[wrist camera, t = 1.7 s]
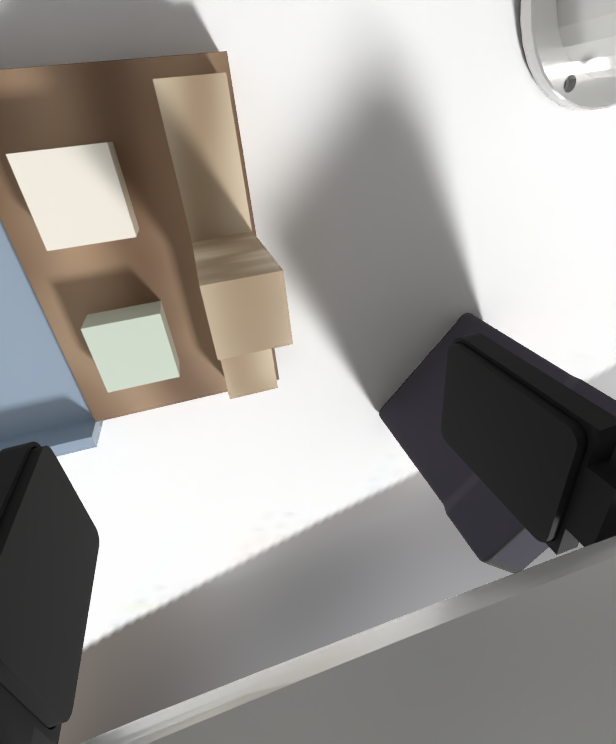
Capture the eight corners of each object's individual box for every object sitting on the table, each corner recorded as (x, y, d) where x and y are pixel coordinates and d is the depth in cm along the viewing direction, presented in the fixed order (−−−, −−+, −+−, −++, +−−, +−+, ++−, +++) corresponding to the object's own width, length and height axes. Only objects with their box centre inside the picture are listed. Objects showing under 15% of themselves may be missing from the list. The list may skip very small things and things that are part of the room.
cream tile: (112, 141, 19) (107, 142, 18) (139, 228, 21) (136, 237, 20) (20, 152, 19) (5, 154, 17) (57, 241, 21) (47, 251, 19)
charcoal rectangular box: (404, 428, 37) (521, 580, 24) (371, 410, 35) (482, 566, 22) (491, 332, 34) (673, 448, 22) (461, 306, 32) (645, 417, 20)
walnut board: (222, 57, 21) (226, 51, 19) (273, 365, 30) (279, 379, 28) (-46, 80, 18) (-68, 75, 17) (100, 404, 28) (95, 422, 26)
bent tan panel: (220, 78, 19) (253, 42, 11) (269, 368, 28) (308, 462, 20) (154, 84, 19) (141, 51, 11) (225, 378, 27) (247, 479, 19)
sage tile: (161, 300, 24) (160, 313, 22) (179, 360, 26) (179, 376, 24) (87, 314, 23) (80, 328, 21) (112, 375, 25) (107, 392, 23)
